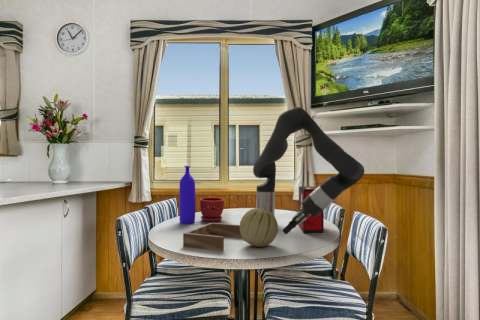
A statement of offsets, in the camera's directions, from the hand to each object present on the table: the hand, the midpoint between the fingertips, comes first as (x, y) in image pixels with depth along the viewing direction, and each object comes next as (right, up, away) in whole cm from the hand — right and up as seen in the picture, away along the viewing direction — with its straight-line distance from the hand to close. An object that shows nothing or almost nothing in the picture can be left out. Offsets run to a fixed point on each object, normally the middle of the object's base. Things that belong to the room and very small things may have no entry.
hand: (284, 232), depth 125 cm
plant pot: (-32, -6, +57) cm, 66 cm away
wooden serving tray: (-26, -6, +10) cm, 29 cm away
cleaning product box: (+17, -6, +34) cm, 38 cm away
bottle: (-45, -6, +50) cm, 67 cm away
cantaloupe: (-10, -6, +4) cm, 12 cm away
